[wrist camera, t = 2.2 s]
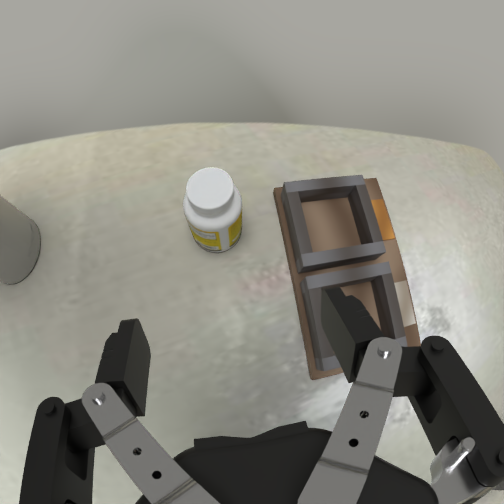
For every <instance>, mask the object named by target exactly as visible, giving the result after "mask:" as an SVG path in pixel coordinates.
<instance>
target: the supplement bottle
mask: <svg viewBox="0 0 504 504" xmlns="http://www.w3.org/2000/svg"><path fill="white" fill-rule="evenodd" d="M183 209H184V213H185V216H186V219H187V222H188V224H189V227H190V229H191V232H192V234H193V237H194V239H195V241H196V242H197V243H198V245H199V246H200V247H202V248H203V249H205V250H207V251H210V252H223V251H226V250H228V249H230V248H231V247H233V246H234V245H235V244H236V243H237V241H238V240H239V238H240V235H241V230H242V198H241V195H240V192H239V190H238V189H237V187H236V186H235V185H234V184H233V180H232V178H231V177H230V175H229V174H228V173H227V172H225V171H224V170H222V169H219V168H215V167H208V168H203V169H200V170H198V171H197V172H195V173H194V174H193V175H192V176H191V177H190V178H189V180H188V182H187V186H186V194H185V196H184V200H183Z"/></svg>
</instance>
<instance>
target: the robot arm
mask: <svg viewBox="0 0 504 504" xmlns="http://www.w3.org/2000/svg"><path fill="white" fill-rule="evenodd" d="M39 250H40V234H39V230H38V228H37V226H36V224H35V223H34V222H33V220H31V219H30V218H29V217H27V216H26V215H25V214H23V213H22V212H21V211H19V210H18V209H17V208H16V207H15V206H13V205H12V204H11V203H9V202H8V201H7V200H6V199H4V198H3V197H2V196H1V195H0V282H3V283H6V284H15V283H18V282H20V281H22V280H23V279H24V278H25V277H26V276H27V275H28V274H29V273H30V272H31V270H32V269H33V267H34V265H35V263H36V261H37V258H38V254H39ZM321 324H322V328H323V330H324V332H325V335H326V337H327V339H328V341H329V343H330V345H331V347H332V349H333V351H334V353H335V355H336V357H337V359H338V362H339V364H340V366H341V368H342V370H343V372H344V374H345V376H346V378H347V380H348V383H351V382H353V384H352V387H351V389H350V392H349V394H348V397H347V399H346V402H345V404H344V407H343V409H342V412H341V414H340V416H339V419H338V421H337V423H336V426H335V428H334V430H333V432H331V431H328V430H324V429H318V428H308V427H307V423H306V421H303V422H298V423H294V424H289V425H285V426H280V427H277V428H274V429H272V430H270V431H267V432H265V433H263V434H260V435H258V436H255V437H252V438H240V437H226V436H218V437H209V438H200V439H194V447H192V448H189V449H187V450H185V451H183V452H181V453H180V454H178V455H177V456H176V457H174V458H173V459H172V458H171V457H170V456H169V454H168V453H167V452H166V451H165V450H164V449H163V448H162V447H161V446H160V445H159V444H158V442H157V441H156V440H155V439H154V438H153V437H152V436H151V434H150V433H149V432H148V431H147V430H146V429H145V427H144V426H143V425H142V424H141V423H140V422H139V420H138V419H137V418H136V417H138V416H145V407H146V396H147V385H148V376H149V367H150V358H151V354H150V347H149V344H148V341H147V339H146V336H145V334H144V331H143V329H142V326H141V324H140V321H139V320H138V319H129V320H122V321H121V322H120V325H119V329H118V332H117V333H112V334H111V335H110V337H109V338H108V339H107V340H106V342H105V346H104V350H103V351H104V352H103V353H102V357H101V358H102V359H101V361H100V365H99V368H98V372H97V376H96V380H95V384H93V385H91V386H90V387H88V388H87V389H86V390H85V392H84V393H83V396H82V399H79V400H76V401H73V402H69V403H66V404H65V403H64V402H63V401H62V400H61V399H60V398H58V397H50V398H47V399H45V400H44V401H42V402H41V404H40V405H39V406H38V409H37V412H36V416H35V420H34V424H33V428H32V432H31V437H30V441H29V446H28V451H27V456H26V461H25V467H24V473H23V479H22V486H21V493H20V501H19V504H92V489H93V469H94V455H95V447H98V446H101V445H105V444H106V445H107V446H108V448H109V449H110V451H111V452H112V453H113V455H114V456H115V458H116V459H117V460H118V462H119V463H120V465H121V466H122V467H123V469H124V470H125V471H126V473H127V474H128V475H129V477H130V478H131V479H132V481H133V482H134V483H135V484H136V486H137V487H138V488H139V489H140V491H141V492H142V493H143V495H142V496H141V497H140V499H139V500H138V501H137V502H136V503H135V504H473V503H474V502H476V501H477V500H479V499H480V498H481V497H483V496H484V495H486V494H487V493H488V492H490V491H491V490H492V489H493V488H495V487H496V486H497V485H499V484H500V483H501V482H502V481H504V424H503V422H502V421H501V419H500V417H499V416H498V414H497V412H496V411H495V409H494V408H493V406H492V404H491V403H490V401H489V400H488V398H487V396H486V395H485V393H484V392H483V390H482V389H481V387H480V386H479V384H478V382H477V381H476V379H475V378H474V376H473V375H472V373H471V372H470V370H469V369H468V368H467V366H466V365H465V363H464V362H463V360H462V359H461V357H460V356H459V355H458V353H457V352H456V350H455V349H454V347H453V346H452V345H451V343H450V342H449V341H448V340H447V339H445V338H443V337H440V336H429V337H427V338H425V339H424V340H423V341H422V343H421V346H413V347H403V346H401V345H400V344H399V343H398V342H397V341H395V340H394V339H391V338H387V337H385V336H384V334H383V333H382V331H381V330H380V328H379V327H378V325H377V324H376V322H375V321H374V319H373V318H372V316H370V313H369V312H368V311H367V310H366V308H365V306H364V305H363V303H362V302H361V301H360V300H359V299H357V298H356V297H354V296H353V295H349V296H346V295H345V294H344V292H343V291H342V289H341V288H340V287H339V286H337V287H332V288H327V289H322V292H321ZM401 396H408V398H409V400H410V402H411V404H412V406H413V408H414V410H415V412H416V414H417V417H418V419H419V421H420V423H421V425H422V427H423V429H424V431H425V433H426V435H427V438H428V440H429V442H430V444H431V446H432V448H433V451H434V453H435V455H436V457H435V458H434V459H433V461H432V463H431V466H430V472H431V476H432V481H431V485H429V484H428V483H427V482H426V481H424V480H423V479H421V478H419V477H416V476H414V475H412V474H410V473H408V472H406V471H404V470H402V469H400V468H398V467H396V466H394V465H392V464H391V463H389V462H387V461H385V460H383V459H381V458H379V457H377V456H375V452H376V449H377V446H378V443H379V440H380V437H381V434H382V431H383V428H384V425H385V421H386V418H387V415H388V411H389V408H390V404H391V400H392V397H401Z"/></svg>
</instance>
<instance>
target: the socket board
mask: <svg viewBox="0 0 504 504" xmlns="http://www.w3.org/2000/svg"><path fill="white" fill-rule="evenodd" d="M273 194H274V199H275V203H276V208H277V212H278V217H279V221H280V226H281V231H282V235H283V240H284V245H285V249H286V254H287V259H288V264H289V269H290V273H291V278H292V283H293V288H294V293H295V298H296V303H297V308H298V314H299V319H300V324H301V329H302V334H303V340H304V345H305V350H306V356H307V361H308V367H309V372H310V378H311V379H312V380H315V379H320V378H324V377H328V376H332V375H336V374H340V373H343V370H342V368H341V366H340V364H339V362H338V359H337V357H336V355H335V353H334V351H333V349H332V347H331V345H330V343H329V341H328V339H327V337H326V335H325V332H324V330H323V328H322V324H321V292H322V289H327V288H332V287H337V286H339V287H340V288H341V289H342V291H343V292H344V294H345V295H346V296H349V295H353V296H354V297H356V298H357V299H359V300H360V301H361V302H362V303H363V305H364V306H365V308H366V310H367V311H368V312H369V313H370V316H372V318H373V319H374V321H375V322H376V324H377V325H378V327H379V328H380V330H381V331H382V333H383V334H384V336H385V337H387V338H391V339H394V340H395V341H397V342H398V343H399V344H400V345H401V346H403V347H413V346H421V343H420V337H419V332H418V327H417V321H416V317H415V312H414V307H413V303H412V298H411V294H410V290H409V285H408V281H407V277H406V273H405V269H404V266H403V262H402V258H401V254H400V251H399V247H398V244H397V240H396V237H395V233H394V230H393V227H392V224H391V220H390V217H389V214H388V211H387V208H386V205H385V202H384V199H383V196H382V193H381V190H380V187H379V184H378V181H377V179H376V178H370V179H364V178H363V176H362V175H355V176H343V177H331V178H321V179H311V180H301V181H292V182H284V185H283V187H279V188H274V192H273Z"/></svg>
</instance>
